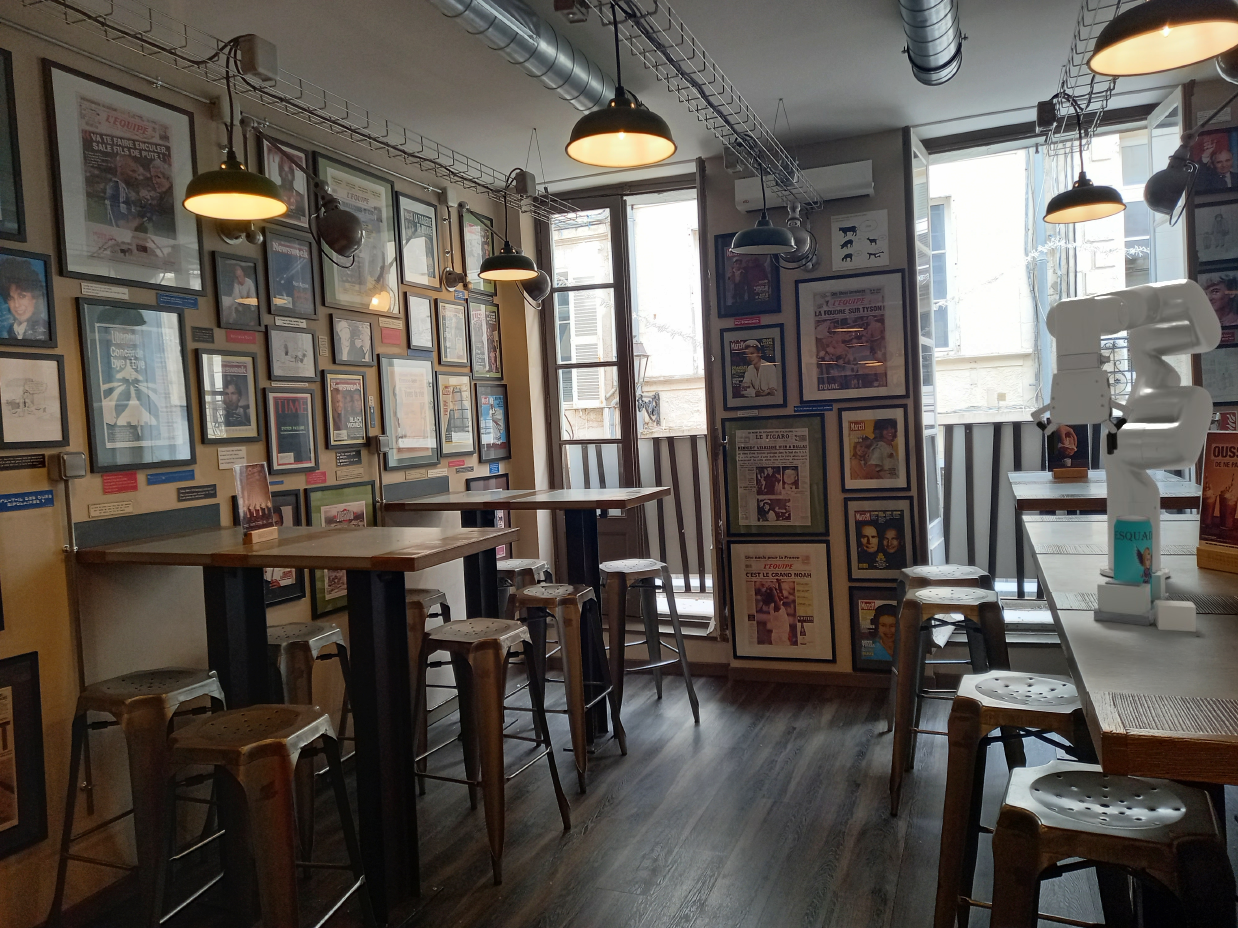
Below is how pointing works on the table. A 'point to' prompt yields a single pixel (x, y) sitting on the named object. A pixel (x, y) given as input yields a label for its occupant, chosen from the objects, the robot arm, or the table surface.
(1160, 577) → the module
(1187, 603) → the block
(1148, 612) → the rail
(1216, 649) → the table surface
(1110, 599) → the block
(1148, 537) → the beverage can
